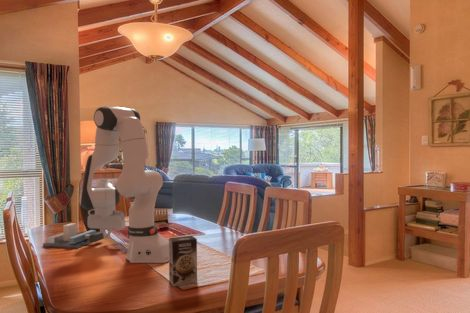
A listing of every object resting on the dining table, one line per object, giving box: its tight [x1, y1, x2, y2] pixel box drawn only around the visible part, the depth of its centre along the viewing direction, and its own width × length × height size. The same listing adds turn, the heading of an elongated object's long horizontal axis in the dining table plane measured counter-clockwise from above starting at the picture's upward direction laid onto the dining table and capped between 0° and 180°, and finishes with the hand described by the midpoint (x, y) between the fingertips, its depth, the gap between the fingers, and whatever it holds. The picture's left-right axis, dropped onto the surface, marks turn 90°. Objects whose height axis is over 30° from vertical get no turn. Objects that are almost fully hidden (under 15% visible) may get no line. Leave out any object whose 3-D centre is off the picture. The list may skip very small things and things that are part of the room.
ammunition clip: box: [154, 208, 169, 225], centre depth 221 cm, size 11×2×12 cm, turn 117°
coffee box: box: [168, 235, 198, 287], centre depth 131 cm, size 9×6×16 cm
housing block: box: [62, 222, 78, 241], centre depth 191 cm, size 4×6×8 cm, turn 166°
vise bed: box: [42, 229, 93, 250], centre depth 190 cm, size 20×20×4 cm
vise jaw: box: [69, 230, 105, 244], centre depth 188 cm, size 11×18×3 cm, turn 166°
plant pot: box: [79, 205, 101, 233], centre depth 217 cm, size 15×15×16 cm
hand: (106, 237), depth 185 cm, fingers closed
